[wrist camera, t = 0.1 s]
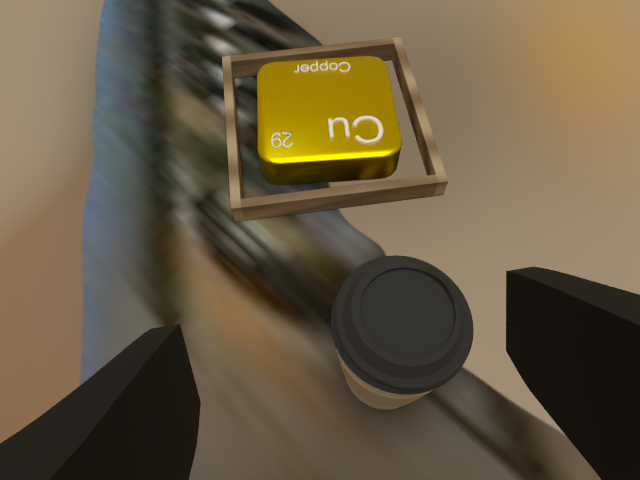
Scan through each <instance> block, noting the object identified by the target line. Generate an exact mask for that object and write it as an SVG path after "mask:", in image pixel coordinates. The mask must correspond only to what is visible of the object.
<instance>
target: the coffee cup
mask: <svg viewBox="0 0 640 480" xmlns="http://www.w3.org/2000/svg"><path fill="white" fill-rule="evenodd" d="M331 330H332V336H333V340H334V343H335V346H336V350H337V353H338V357H339V360H340V364H341V368H342V371H343V374H344V376H345V378H346V381H347V384H348V386H349V388H350V390H351V391H352V392H353V394H354V395H355V396H356V397H357V398H358V399H359V400H360V401H362V402H363V403H364V404H366V405H368V406H370V407H373V408H376V409H382V410H391V409H396V408H399V407H401V406H404V405H407V404H410V403H412V402H414V401H416V400H417V399H419V398H421V397H422V396H424V395H426V394H427V393H429V392H431V391H432V390H434V389H436V388H438V387H440V386H442V385H443V384H445V383H446V382H448V381H449V380H450V379H451V378H453V377H454V376H455V375H456V373H457V372H458V371H459V370H460V369H461V367H462V366H463V364H464V362H465V360H466V358H467V356H468V354H469V352H470V349H471V345H472V340H473V320H472V316H471V312H470V308H469V306H468V303H467V301H466V299H465V297H464V295H463V294H462V292H461V291H460V289H459V288H458V287H457V285H456V284H455V283H454V282H453V281H452V280H451V279H450V278H449V277H448V276H447V275H446V274H445V273H443V272H442V271H441V270H439V269H438V268H436V267H435V266H432V265H431V264H429V263H427V262H424V261H422V260H419V259H416V258H412V257H406V256H385V257H380V258H376V259H373V260H371V261H368V262H366V263H364V264H363V265H361V266H360V267H358V268H357V269H356V270H354V271H353V272H352V273H351V274H350V275H349V276H348V278H347V279H346V280H345V282H344V283H343V285H342V287H341V289H340V291H339V292H338V294H337V296H336V299H335V301H334V305H333V309H332V315H331Z"/></svg>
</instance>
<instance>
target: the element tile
mask: <svg viewBox="0 0 640 480" xmlns="http://www.w3.org/2000/svg"><path fill="white" fill-rule="evenodd" d="M257 113H258V154H259V159H260V164H261V169H262V173H263V175H264V177H265V179H266V180H267V181H268V182H270V183H272V184H276V185H292V184H307V183H322V182H329V183H331V182H346V181H361V180H375V179H383V178H387V177H389V176H391V175H392V174H393V173H394V172H395V171H396V168H397V165H398V160H399V155H400V150H401V144H402V139H401V134H400V129H399V124H398V119H397V114H396V109H395V104H394V98H393V93H392V88H391V84H390V78H389V73H388V69H387V65H386V64H385V62H384V61H383V60H382V59H380V58H378V57H374V56H356V57H340V58H324V59H308V60H291V61H275V62H270V63H267V64H265V65H263V66H262V67H261V68H260V70H259V71H258V75H257Z"/></svg>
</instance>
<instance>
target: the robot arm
mask: <svg viewBox="0 0 640 480" xmlns="http://www.w3.org/2000/svg"><path fill="white" fill-rule="evenodd" d="M506 273H507V274H506V276H507V277H506V282H507V283H506V287H507V288H506V351H507V353H508V355H509V356H510V358H511V360H512V362H513V363H514V365H515V367H516V368H517V371H518V372H519V374H520V375H521V377H522V379H523V380H524V382H525V384H526V385H527V387H528V388H529V390H530V391H531V392H532V393H533V395H534V396H535V397H536V398H537V400H538V401H539V402H540V403H541V405H542V406H543V407H544V409H545V410H546V411H547V412H548V413H549V415H550V416H551V417H552V419H553V420H554V421H555V422H556V424H557V425H558V426H559V427H560V429H561V430H562V431H563V432H564V433H565V435H566V436H567V437H568V438H569V440H570V441H571V442H572V443H573V445H574V446H575V447H576V448H577V449H578V451H579V452H580V453H581V454H582V456H583V457H584V458H585V459H586V461H587V462H588V463H589V464H590V466H591V467H592V468H593V469H594V470H595V472H596V473H597V474H598V475H599V477H600V478H601V480H640V295H639V294H635V293H631V292H628V291H624V290H621V289H617V288H614V287H610V286H607V285H603V284H600V283H597V282H593V281H589V280H586V279H583V278H579V277H576V276H572V275H569V274H565V273H561V272H557V271H553V270H549V269H544V268H538V267H529V268H524V269H517V270H511V271H507V272H506ZM200 404H201V402H200V398H199V395H198V391H197V387H196V383H195V379H194V376H193V372H192V368H191V364H190V361H189V357H188V353H187V349H186V345H185V342H184V338H183V334H182V330H181V327H180V324H177V325H171V326H165V327H159V328H153V329H150V330H149V331H147V332H146V333H144V334H143V335H141V336H140V337H139V338H138V339H136V340H135V341H134V342H133V343H131V344H130V345H129V346H128V347H126V348H125V349H124V350H123V351H122V352H121V353H119V354H118V355H117V356H116V357H115V358H113V359H112V360H111V361H110V362H109V363H107V364H106V365H105V366H104V367H103V368H101V369H100V370H99V371H98V372H97V373H95V374H94V375H93V376H92V377H91V378H89V379H88V380H87V381H86V382H84V383H83V384H82V385H81V386H79V387H78V388H77V389H75V390H74V391H73V392H71V393H70V394H69V395H68V396H66V397H65V398H64V399H62V400H61V401H60V402H58V403H57V404H56V405H55V406H53V407H52V408H51V409H49V410H48V411H47V412H46V413H44V414H43V415H41V416H40V417H39V418H37V419H36V420H34V421H33V422H32V423H30V424H29V425H27V426H26V427H25V428H23V429H22V430H20V431H19V432H17V433H16V434H14V435H13V436H11V437H10V438H8V439H7V440H5V441H4V442H2V443H0V480H189V476H190V472H191V467H192V463H193V459H194V454H195V450H196V445H197V436H198V427H199V416H200Z"/></svg>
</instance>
